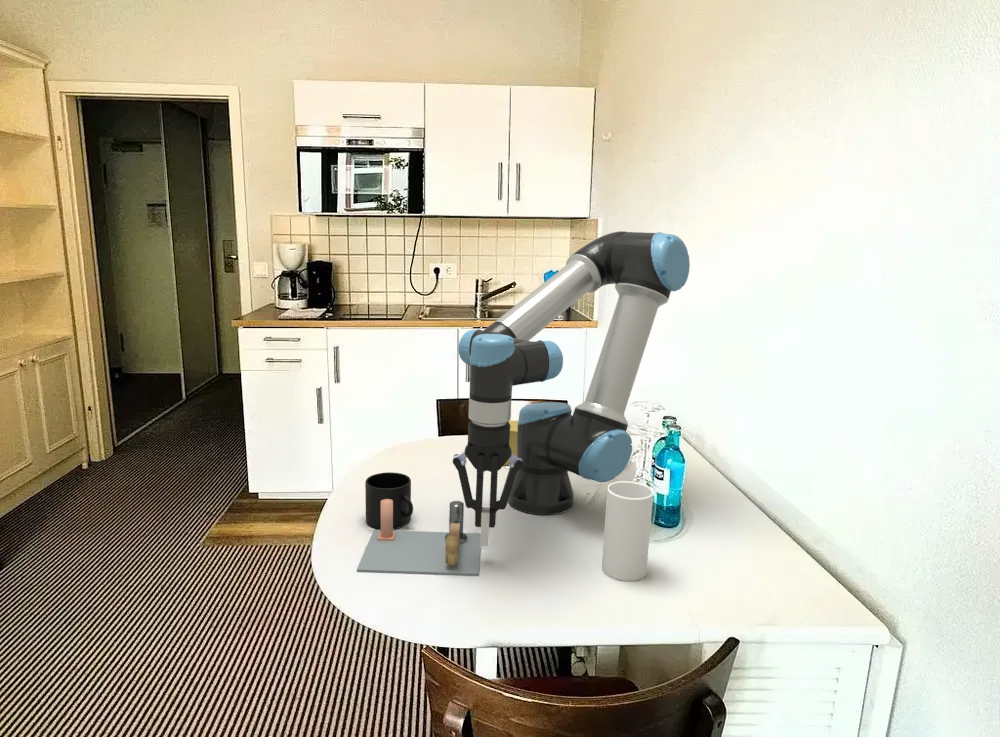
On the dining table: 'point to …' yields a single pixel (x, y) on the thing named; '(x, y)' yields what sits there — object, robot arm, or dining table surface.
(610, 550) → the cup
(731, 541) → the dining table surface
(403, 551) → the mat
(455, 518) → the pivot post
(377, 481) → the mug
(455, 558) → the gate
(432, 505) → the dining table surface
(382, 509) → the post
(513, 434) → the cheese
